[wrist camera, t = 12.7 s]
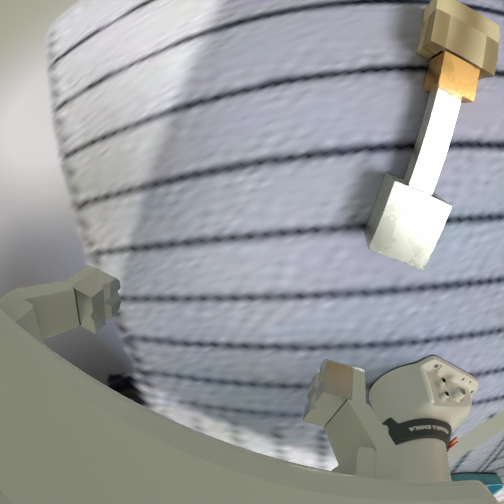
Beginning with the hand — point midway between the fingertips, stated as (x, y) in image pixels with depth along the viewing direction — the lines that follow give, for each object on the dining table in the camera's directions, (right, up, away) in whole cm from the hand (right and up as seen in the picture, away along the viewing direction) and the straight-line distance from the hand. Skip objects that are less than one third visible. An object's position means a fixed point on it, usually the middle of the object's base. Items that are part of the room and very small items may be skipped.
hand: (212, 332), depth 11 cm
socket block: (+25, +28, +13) cm, 40 cm away
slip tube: (+23, +19, +18) cm, 34 cm away
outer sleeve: (+20, +8, +24) cm, 32 cm away
